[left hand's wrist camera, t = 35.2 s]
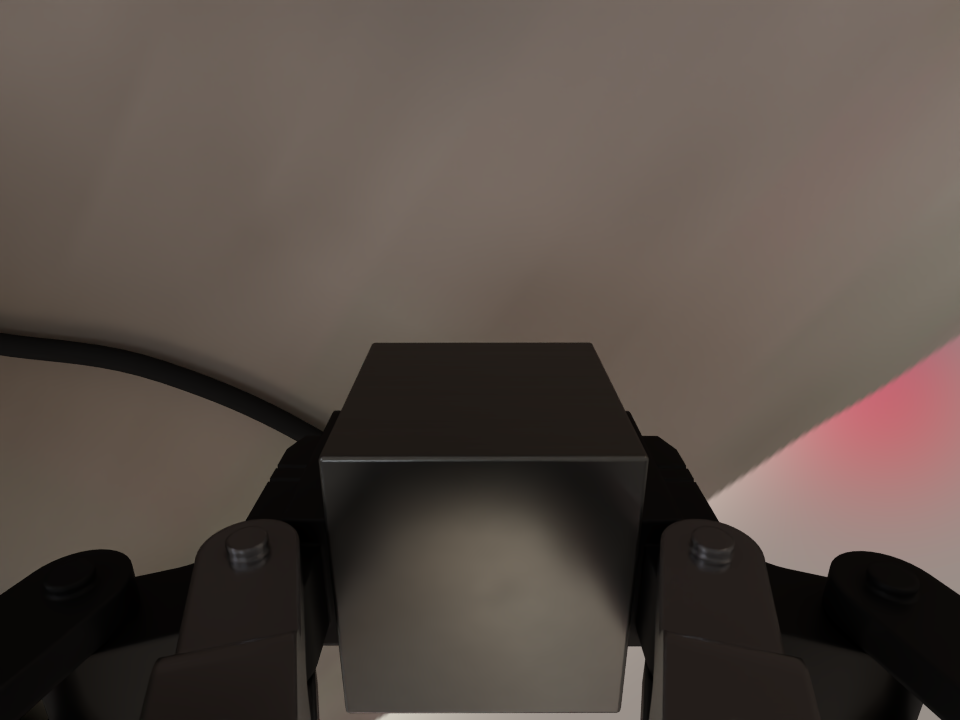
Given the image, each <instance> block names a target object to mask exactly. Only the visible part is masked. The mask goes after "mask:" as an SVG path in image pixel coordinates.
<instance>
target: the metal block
mask: <svg viewBox="0 0 960 720" xmlns="http://www.w3.org/2000/svg"><path fill="white" fill-rule="evenodd" d="M648 462H649V458H648V456H647V454H646V452H645V450H644V448H643V446H642V444H641V442H640V439H639V437H638V435H637V433H636V431H635V429H634V427H633V425H632V423H631V421H630V419H629V417H628V415H627V413H626V411H625V409H624V407H623V405H622V403H621V401H620V399H619V397H618V395H617V393H616V391H615V389H614V387H613V385H612V383H611V381H610V379H609V377H608V375H607V373H606V371H605V369H604V367H603V365H602V363H601V361H600V359H599V357H598V355H597V353H596V351H595V349H594V347H593V345H592V344H591V343H373V344H372V346H371V348H370V350H369V352H368V354H367V356H366V359H365V361H364V363H363V365H362V367H361V369H360V371H359V374H358V376H357V378H356V380H355V382H354V384H353V386H352V388H351V391H350V393H349V395H348V397H347V399H346V401H345V403H344V406H343V408H342V410H341V412H340V414H339V416H338V418H337V420H336V423H335V425H334V427H333V429H332V431H331V433H330V435H329V438H328V440H327V442H326V444H325V446H324V448H323V450H322V452H321V455H320V457H319V469H320V478H321V488H322V497H323V506H324V515H325V524H326V533H327V542H328V551H329V560H330V570H331V579H332V588H333V597H334V606H335V615H336V624H337V633H338V643H339V652H340V661H341V670H342V679H343V688H344V697H345V706H346V711H347V712H348V713H617V712H619V711H620V708H621V702H622V693H623V684H624V675H625V666H626V657H627V648H628V640H629V631H630V622H631V613H632V604H633V595H634V587H635V578H636V569H637V560H638V551H639V542H640V533H641V524H642V516H643V507H644V498H645V489H646V480H647V471H648Z"/></svg>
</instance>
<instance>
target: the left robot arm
mask: <svg viewBox="0 0 960 720" xmlns="http://www.w3.org/2000/svg"><path fill="white" fill-rule="evenodd" d="M0 355H2V356H9V357H17V358H25V359H34V360H44V361H53V362H63V363H71V364H79V365H87V366H93V367H100V368H105V369H110V370H116V371H120V372H125V373H129V374H133V375H137V376H141V377H144V378H147V379H151V380H154V381H157V382H161V383H164V384H167V385H169V386H172V387H175V388H178V389H181V390H184V391H187V392H190V393H192V394H195V395H198V396H200V397H203V398H206V399H208V400H211V401H213V402H216V403H218V404H221V405H223V406H226V407H228V408H231V409H233V410H235V411H237V412H240V413H242V414H244V415H246V416H249V417H251V418H253V419H255V420H257V421H259V422H261V423H263V424H265V425H267V426H269V427H271V428H273V429H275V430H277V431H279V432H281V433H283V434H285V435H287V436H288V437H290V438H292V439H294V440H296V441H298V442H296V443H295V444H293V445H292V446H291V447H289V448H288V449H287V450H286V452H285V453H284V455H283V457H282V459H281V460H280V462H279V464H278V468H276V469H275V471H274V472H273V474H272V476H271V478H270V482H268V483H267V485H266V486H265V488H264V490H263V491H262V493H261V495H260V497H259V498H258V500H257V502H256V504H255V505H254V507H253V509H252V510H251V512H250V514H249V516H248V517H247V519H246V521H243V522H240V523H236V524H233V525H231V526H228V527H226V528H224V529H222V530H220V531H218V532H217V533H215V534H214V535H212V536H211V537H210V538H209V539H207V540H206V541H205V542H204V543H203V545H202V546H201V547H200V549H199V550H198V552H197V555H196V558H195V562H194V563H193V564H190V565H187V566H183V567H179V568H175V569H170V570H166V571H161V572H156V573H151V574H147V575H142V576H137V577H135V574H134V570H133V566H132V563H131V560H130V559H129V558H128V556H126V555H125V554H123V553H121V552H118V551H114V550H104V549H99V550H89V551H83V552H79V553H75V554H71V555H68V556H65V557H62V558H60V559H58V560H55V561H53V562H51V563H49V564H47V565H45V566H43V567H41V568H40V569H38V570H36V571H35V572H33V573H32V574H30V575H29V576H27V577H26V578H24V579H23V580H22V581H20V582H19V583H17V584H16V585H14V586H13V587H11V588H10V589H8V590H7V591H6V592H4V593H3V594H1V595H0V720H19V719H20V718H21V717H22V716H23V715H24V714H26V713H27V712H28V711H29V710H30V709H31V708H32V707H33V706H35V705H36V704H37V703H38V702H39V701H40V700H41V699H42V701H43V704H44V707H45V709H46V712H47V715H48V718H49V719H48V720H319V701H318V682H317V674H316V666H317V664H318V660H319V657H320V654H321V650H322V647H323V645H339V643H338V633H337V624H336V615H335V606H334V597H333V588H332V579H331V570H330V560H329V551H328V542H327V533H326V524H325V515H324V506H323V497H322V488H321V478H320V469H319V457H320V455H321V452H322V450H323V448H324V446H325V444H326V442H327V440H328V438H329V435H330V433H331V431H332V429H333V427H334V425H335V423H336V420H337V418H338V416H339V414H340V412H341V411H334V412H333V413H332V415H331V417H330V419H329V421H328V423H327V425H326V428H325V430H324V432H322V431H321V430H319V429H317V428H315V427H314V426H312V425H310V424H308V423H307V422H305V421H303V420H301V419H299V418H297V417H296V416H294V415H292V414H290V413H288V412H286V411H284V410H282V409H280V408H278V407H277V406H275V405H273V404H271V403H268V402H266V401H264V400H262V399H260V398H258V397H256V396H254V395H251V394H249V393H247V392H245V391H243V390H240V389H238V388H236V387H233V386H231V385H228V384H226V383H224V382H221V381H218V380H216V379H213V378H211V377H208V376H206V375H203V374H200V373H197V372H195V371H192V370H189V369H186V368H184V367H181V366H178V365H175V364H172V363H169V362H166V361H163V360H159V359H156V358H153V357H150V356H146V355H143V354H139V353H134V352H130V351H126V350H122V349H117V348H112V347H107V346H101V345H95V344H88V343H81V342H73V341H64V340H55V339H46V338H36V337H27V336H19V335H11V334H4V333H0ZM626 413H627V415H628V417H629V419H630V421H631V423H632V425H633V427H634V429H635V431H636V433H637V435H638V437H639V439H640V442H641V444H642V446H643V448H644V450H645V452H646V454H647V456H648V458H649V462H648V471H647V480H646V489H645V498H644V507H643V516H642V524H641V533H640V542H639V551H638V560H637V569H636V578H635V587H634V595H633V604H632V613H631V622H630V631H629V640H628V646H642V650H643V653H644V656H645V666H644V674H643V681H642V701H641V720H917V719H918V716H919V713H920V710H921V707H922V705H923V704H924V705H925V706H927V707H928V708H929V709H930V710H931V711H932V712H933V713H934V714H936V715H937V716H938V717H939V718H940V719H941V720H960V595H959V594H957V593H956V592H954V591H953V590H952V589H950V588H949V587H947V586H946V585H944V584H943V583H941V582H940V581H938V580H937V579H936V578H934V577H933V576H931V575H930V574H928V573H927V572H925V571H923V570H922V569H920V568H918V567H916V566H914V565H912V564H910V563H908V562H905V561H903V560H901V559H898V558H895V557H892V556H889V555H885V554H881V553H875V552H867V551H852V552H847V553H844V554H841V555H839V556H837V557H836V558H835V559H834V560H833V561H832V563H831V566H830V569H829V573H828V577H824V576H819V575H814V574H810V573H805V572H800V571H796V570H791V569H786V568H782V567H779V566H775V565H772V564H769V563H767V562H765V558H764V555H763V552H762V550H761V549H760V547H759V546H758V545H757V543H756V542H755V541H754V540H752V539H751V538H750V537H749V536H748V535H746V534H745V533H743V532H742V531H740V530H738V529H736V528H734V527H732V526H729V525H727V524H723V523H720V522H719V521H718V519H717V518H716V516H715V514H714V513H713V511H712V509H711V507H710V506H709V504H708V502H707V501H706V499H705V497H704V495H703V494H702V492H701V490H700V489H699V487H698V485H697V484H696V482H694V478H693V477H692V475H691V473H690V472H689V470H688V469H686V465H685V463H684V461H683V460H682V458H681V456H680V455H679V453H678V451H677V450H676V449H675V448H674V447H672V446H671V445H669V444H668V443H667V442H665V441H664V440H662V439H661V438H660V437H658V436H642V435H641V433H640V431H639V429H638V427H637V425H636V423H635V421H634V419H633V417H632V415H631V413H630V412H629V411H626Z"/></svg>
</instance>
